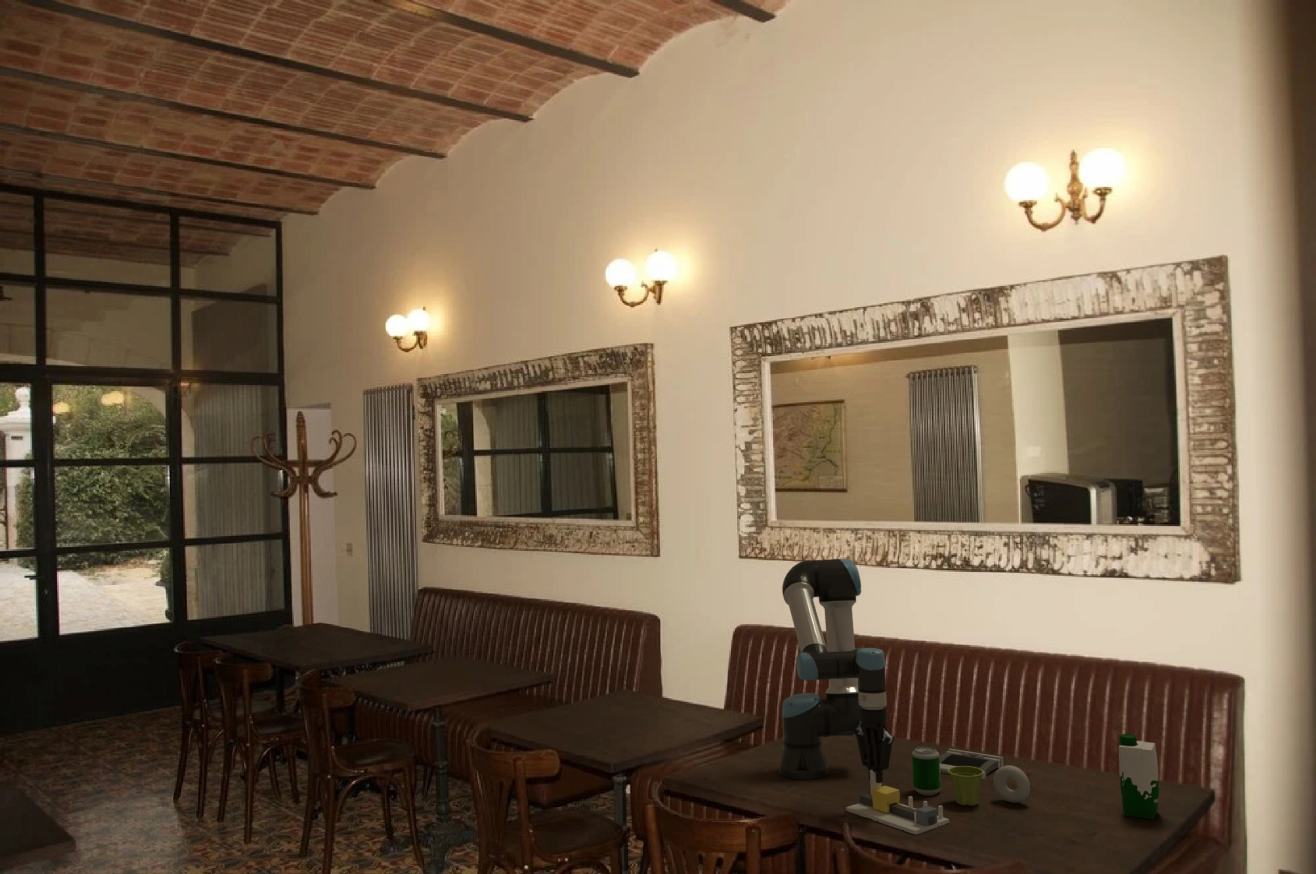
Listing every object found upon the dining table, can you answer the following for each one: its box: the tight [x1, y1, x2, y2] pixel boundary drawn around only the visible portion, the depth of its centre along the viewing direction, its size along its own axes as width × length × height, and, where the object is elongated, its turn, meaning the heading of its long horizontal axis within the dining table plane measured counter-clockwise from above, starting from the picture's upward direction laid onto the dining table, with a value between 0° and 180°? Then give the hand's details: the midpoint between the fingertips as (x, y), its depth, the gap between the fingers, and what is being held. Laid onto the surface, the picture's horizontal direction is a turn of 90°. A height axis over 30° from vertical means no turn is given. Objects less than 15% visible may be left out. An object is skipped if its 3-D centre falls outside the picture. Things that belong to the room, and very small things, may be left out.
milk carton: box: [1118, 733, 1160, 820], centre depth 266 cm, size 9×9×20 cm
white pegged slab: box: [845, 793, 950, 836], centre depth 270 cm, size 24×13×5 cm, turn 35°
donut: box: [992, 765, 1031, 804], centre depth 278 cm, size 10×3×10 cm, turn 49°
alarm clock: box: [939, 748, 1004, 780], centre depth 310 cm, size 17×5×16 cm
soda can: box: [911, 746, 942, 796], centre depth 290 cm, size 8×8×12 cm
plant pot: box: [948, 766, 984, 807], centre depth 280 cm, size 9×9×9 cm
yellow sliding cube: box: [871, 785, 901, 813], centre depth 273 cm, size 5×5×5 cm
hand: (876, 794), depth 276 cm, fingers closed
